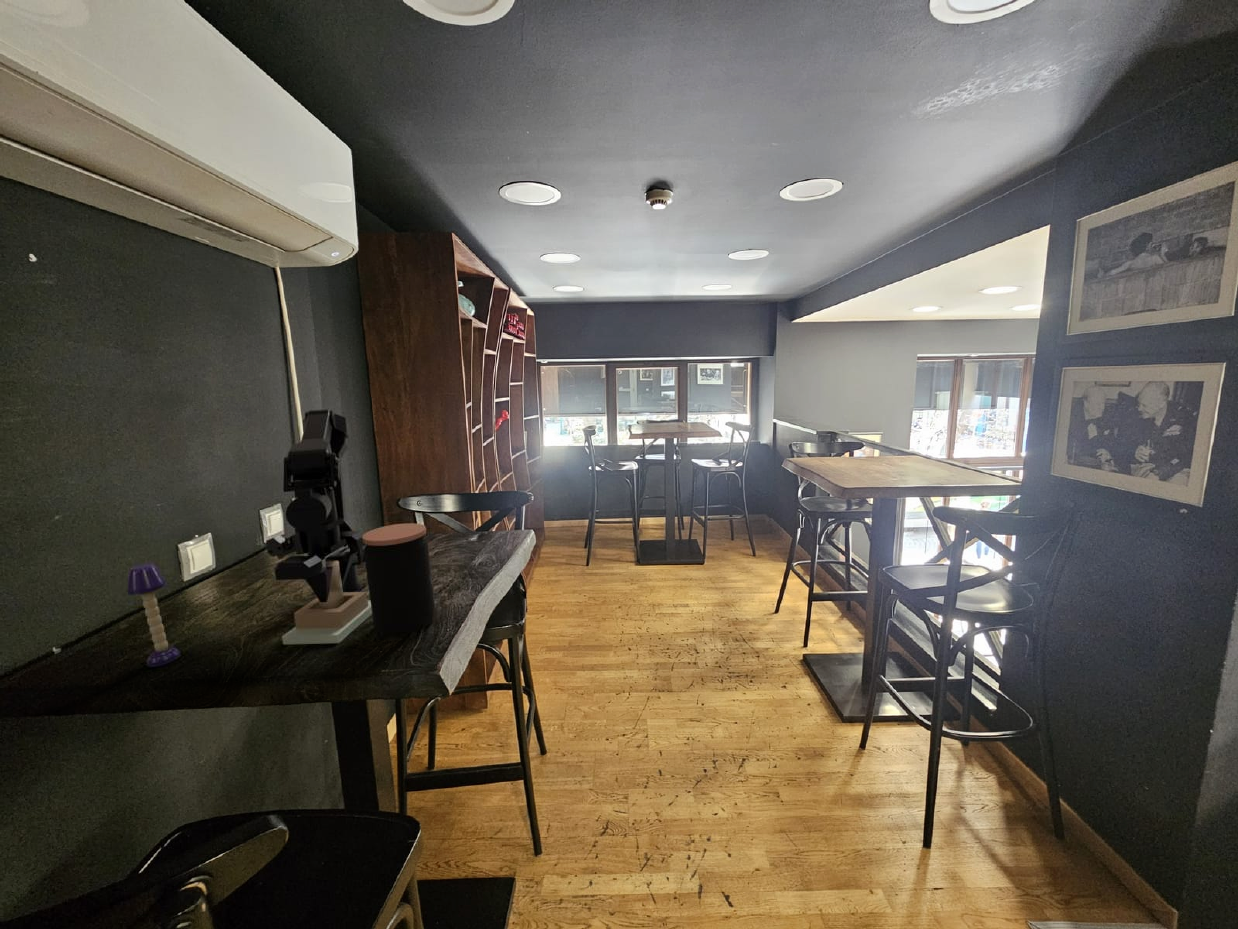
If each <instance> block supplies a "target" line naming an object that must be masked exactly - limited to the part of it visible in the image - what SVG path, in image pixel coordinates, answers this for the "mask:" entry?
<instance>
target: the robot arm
mask: <svg viewBox="0 0 1238 929" xmlns="http://www.w3.org/2000/svg"><path fill="white" fill-rule="evenodd" d="M301 422H302V437H301V441H299V442H298V443H295V444H293V445H291V446H290V448H289V450H288V452H287V456H284V457H283V483H282V484H283V493H288V492H293V493H294V499H293V500H292V501H291V502H289V504H288V505H287V507H286V511H285V519H286V522H288V524H289V525H290V526H291V527H292V528H294V534H293V533H292V534H291V535H289V536H287V537H283V536H282V535H276V536H274V537H272V538H269V539H267V540H265V544H266V552H267V554H268V555H269V556H270V557H272V558H274V557H276V558H277V560H281V559H283V558H285V557H286V556H288V555H292V554H293V553H296V555H292V556H289V557H288V558H286V559H284V560H282V561H280V562H277V564H275V566H274V567H273V573H274V574H273V576H274V580H275V581H287V580H288V581H289V580H290V581H291V580H294V581H295V580H304V581H305V582H306V583H307V584H308V586H309V587H310V588H311V590H312V591H313V593H314V595H315V596H316V598H318V599H319V601H320V602H321V603H323V602H327V600H328V595H329V589H330V582H331V576H332V569H333V567H326V564H325V561H330V560H336V561H339V568H340V575H341V582H342V589H343V592H361V591H362V590H363V588H365V587H367V583H365V582H364V583H362V582H361V583H360V579H359V578H360V577H359V572H358V566H361V565H362V564H363V563H365V557H364V548H365V546H366V544H365V543H364V542H363V539H362V536H363V535H364V534H365V533H364V532H363V531H361V530H354V529H353V528H352V527H351V525H350V524H349V523H348V522H347V513H346V511H347V510H346V501H345V490H344V488H345V487H344V479H343V478H344V476H343V464H342V458H343V456H344V454H345V453H346V452H347V449H348V448H349V440H348V439H350V438H351V429H350V424H349V421H348V419H347V417H345V416H343V415H339V414H337V413H335V411H334V409H333V410H332V409H331V410H330V409H326V408H325V409H311V410H308V411H305V412H304V418H303V419H302V421H301ZM304 554H307V555H304Z"/></svg>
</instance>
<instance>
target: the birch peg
mask: <svg viewBox="0 0 1238 929" xmlns="http://www.w3.org/2000/svg"><path fill="white" fill-rule="evenodd" d="M325 564H326V567H333V569H332V576H331V582H330V589H329V595H328V600H327V602H323V603H321V602H320V601H319V605H320V609H334V608H339V607H340V606H341V605H343V604H344V596H343V589H342V582H341V575H340V568H339V561H336V560H330V561H325Z"/></svg>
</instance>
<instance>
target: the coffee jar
mask: <svg viewBox="0 0 1238 929" xmlns="http://www.w3.org/2000/svg"><path fill="white" fill-rule="evenodd" d="M426 532H427V527H426V526H425V525H424V524H421V523H412V522H411V523H397V524H396V523H395V524H391V525H386V526H385V525H384V526H380V527H378V528H375V529H371V530H369V531H367V532H365V533H364V535H363V536H362V539H363V542H364V543H365V544H366V545H365V546H364V547H363V548H364V557H365V562H364V563H365V571H366V579H367V586H368V593H369V598H370V599H369V600H370V601H371V609H372V614H371V615H372V616H371V617H372V623H373V627H374V629H375V630H376V632H378V633H379V634H381V635H382V636H387V637H401V636H407V635H411V634H415V633H417V632H419V631H421V630H422V631H423V630H424V629H425V628H427V627H428V626H429V625H430V624H431V623H432V622H433V619H434V618H435V615H436V603H435V594H434V586H433V577H432V568H431V560H430V559H431V558H430V549H429V542H428V539H427V537H425V534H426ZM426 626H427V627H426Z"/></svg>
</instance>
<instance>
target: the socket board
mask: <svg viewBox="0 0 1238 929" xmlns="http://www.w3.org/2000/svg"><path fill="white" fill-rule="evenodd" d="M343 596H344V604H343V605H341V606H340V607H339V608H334V609H320V605H319V599H318V598H317V597H316V598H314V599H313V600H311V601H310V602H309V603H307V604H305V605H303V607H300V609H298V610H295V612H294V613H293V616H294V622H295V626H294V627H293V628H292V629H291V630H289V631H287V632H286V633H285V634H283V635H282V636H281V639H282V644H283V645H310V644H311V645H312V644H313V645H314V644H315V645H316V644H340V642H342V641H343V640H344V639H345V638H347V637H348V636H349V635H350V634H351V633H352V632H353V631H354V630H356V629H357V628H358V627H359V626H360V625H361V624H362V623H363V622H365V620H367V619H368V618H369V617H370V616H371V615H372V609H371V601H370V599H368V592H367V591H358V592H343Z"/></svg>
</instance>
